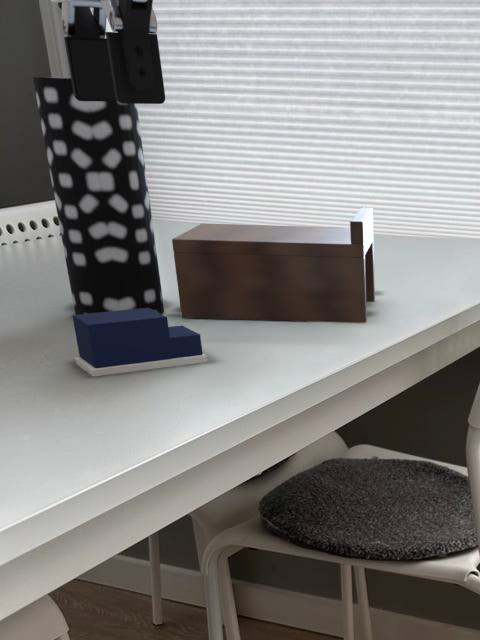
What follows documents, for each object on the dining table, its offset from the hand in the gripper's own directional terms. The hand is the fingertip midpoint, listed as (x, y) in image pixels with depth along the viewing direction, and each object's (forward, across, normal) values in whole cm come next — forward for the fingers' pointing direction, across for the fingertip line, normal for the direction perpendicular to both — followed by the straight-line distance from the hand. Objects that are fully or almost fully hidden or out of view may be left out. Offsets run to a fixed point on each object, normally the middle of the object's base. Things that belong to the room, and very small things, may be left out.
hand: (118, 102), depth 67 cm
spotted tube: (+19, -22, +4) cm, 29 cm away
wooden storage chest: (+19, -17, +19) cm, 32 cm away
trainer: (+19, 0, -1) cm, 19 cm away
